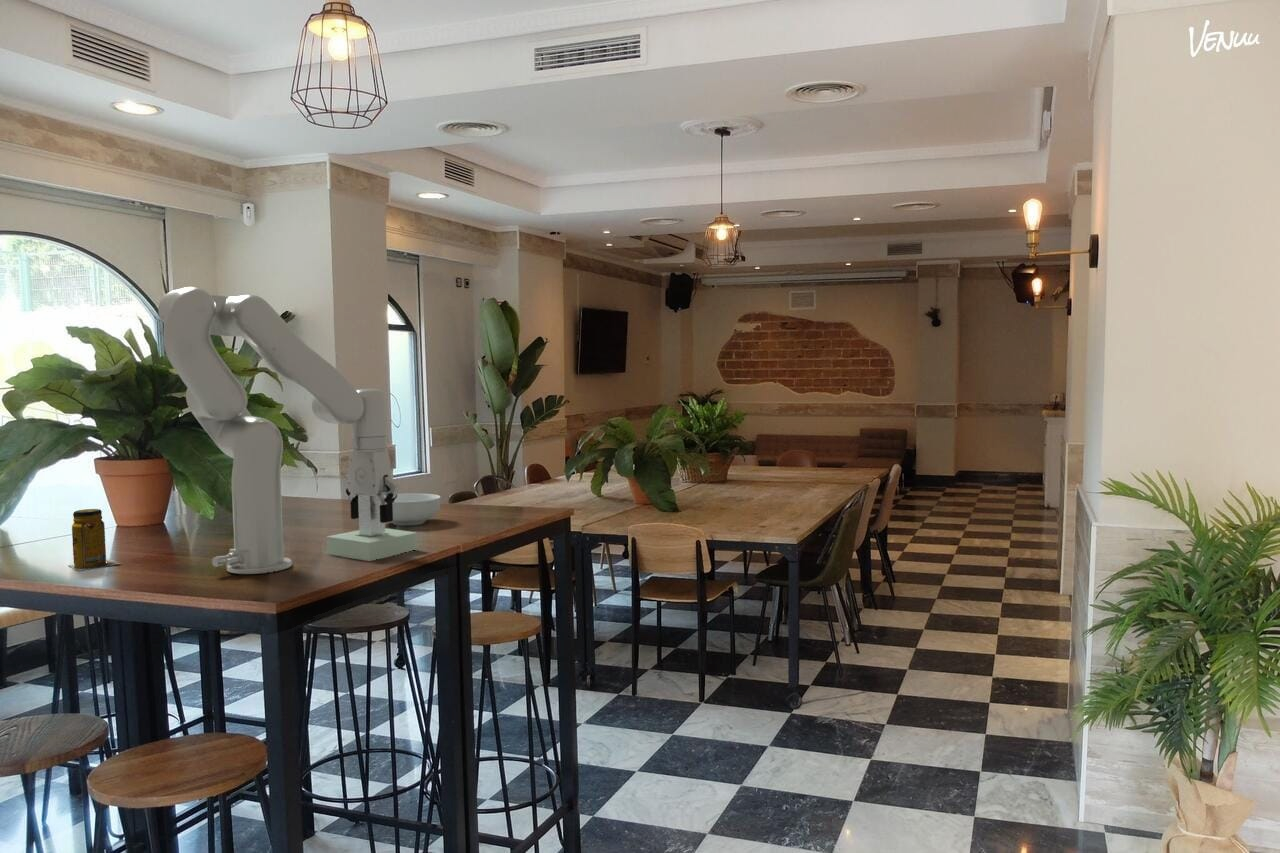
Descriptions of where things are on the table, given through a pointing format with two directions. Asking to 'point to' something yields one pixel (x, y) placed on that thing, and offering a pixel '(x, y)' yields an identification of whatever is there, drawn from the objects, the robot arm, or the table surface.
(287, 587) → the table surface
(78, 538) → the condiment
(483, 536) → the table surface
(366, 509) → the white rectangular block
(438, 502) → the cereal bowl
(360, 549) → the green square socket block
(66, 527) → the table surface
